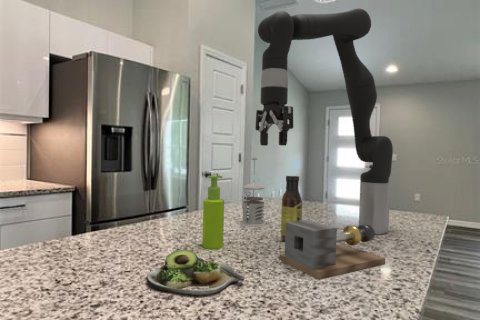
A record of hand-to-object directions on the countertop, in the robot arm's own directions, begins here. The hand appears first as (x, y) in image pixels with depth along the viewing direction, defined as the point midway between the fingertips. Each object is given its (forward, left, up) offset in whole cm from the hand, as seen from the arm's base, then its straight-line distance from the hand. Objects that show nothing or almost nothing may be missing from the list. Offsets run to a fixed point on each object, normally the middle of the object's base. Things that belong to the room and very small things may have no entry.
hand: (272, 145), depth 96 cm
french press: (-11, -27, -29) cm, 42 cm away
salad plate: (+29, +12, -30) cm, 43 cm away
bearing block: (-6, +18, -29) cm, 34 cm away
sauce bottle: (-10, -3, -29) cm, 31 cm away
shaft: (-9, +17, -25) cm, 32 cm away
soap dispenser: (+14, -8, -29) cm, 33 cm away
